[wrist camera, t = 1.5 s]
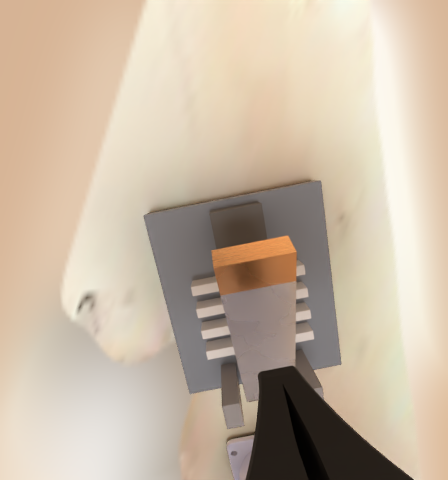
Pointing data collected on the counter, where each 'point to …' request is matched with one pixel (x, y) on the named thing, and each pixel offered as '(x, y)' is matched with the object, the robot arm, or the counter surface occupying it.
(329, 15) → the counter surface
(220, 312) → the heatsink base
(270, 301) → the orange-ended grey bar
